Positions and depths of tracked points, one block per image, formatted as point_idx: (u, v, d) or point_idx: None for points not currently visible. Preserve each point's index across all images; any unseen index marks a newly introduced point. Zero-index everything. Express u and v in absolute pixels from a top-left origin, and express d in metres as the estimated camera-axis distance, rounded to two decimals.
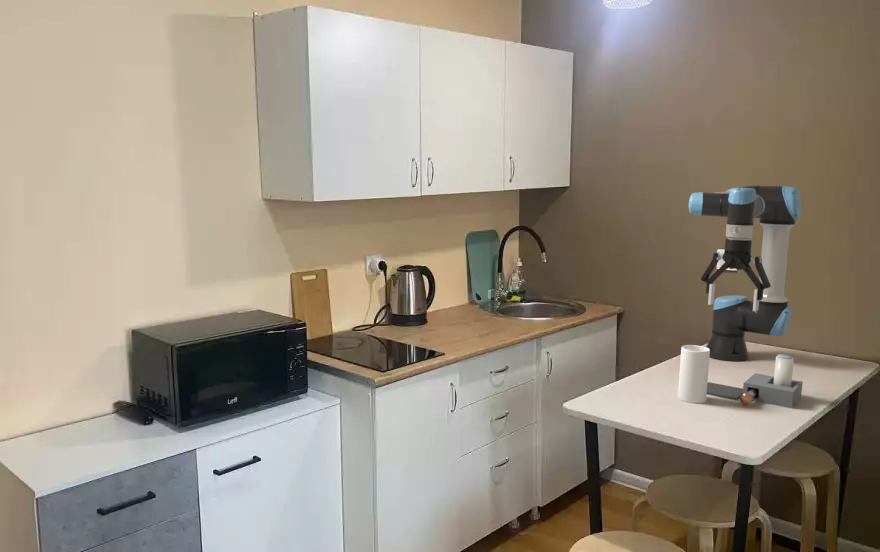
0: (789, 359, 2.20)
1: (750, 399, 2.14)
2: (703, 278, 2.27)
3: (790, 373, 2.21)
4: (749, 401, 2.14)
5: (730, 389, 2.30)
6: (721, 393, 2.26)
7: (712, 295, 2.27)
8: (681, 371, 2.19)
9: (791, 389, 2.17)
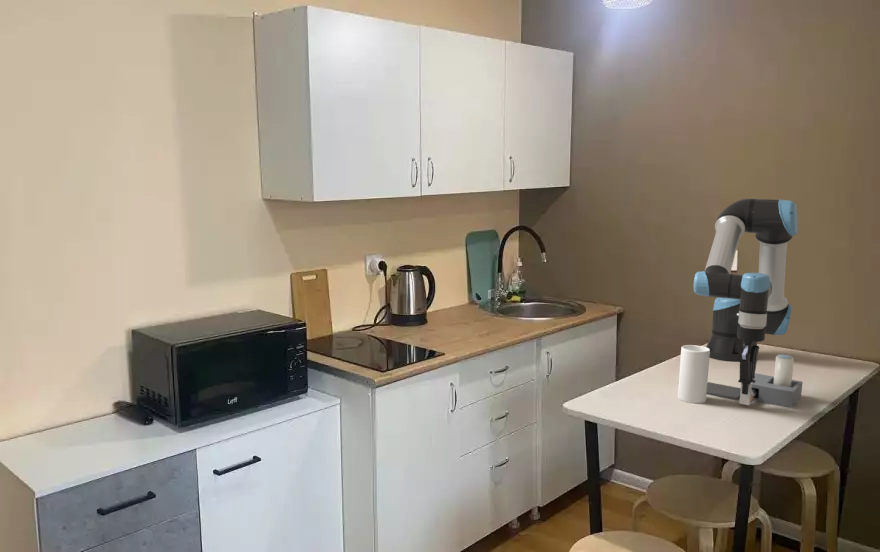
0: (789, 359, 2.20)
1: None
2: None
3: (790, 373, 2.21)
4: None
5: (730, 389, 2.30)
6: (721, 393, 2.26)
7: None
8: (681, 371, 2.19)
9: (791, 389, 2.17)
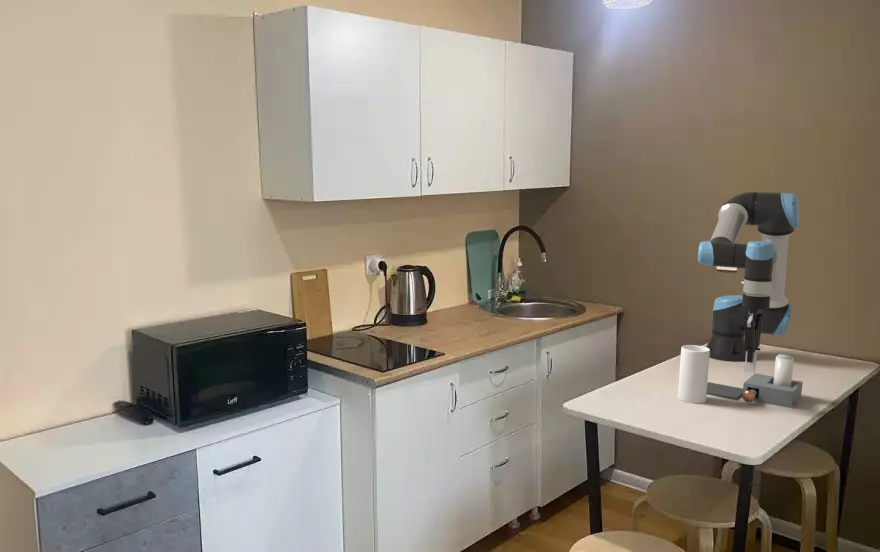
0: (789, 359, 2.20)
1: (753, 396, 2.16)
2: None
3: (790, 373, 2.21)
4: (752, 398, 2.16)
5: (730, 389, 2.30)
6: (721, 393, 2.26)
7: None
8: (681, 371, 2.19)
9: (791, 389, 2.17)
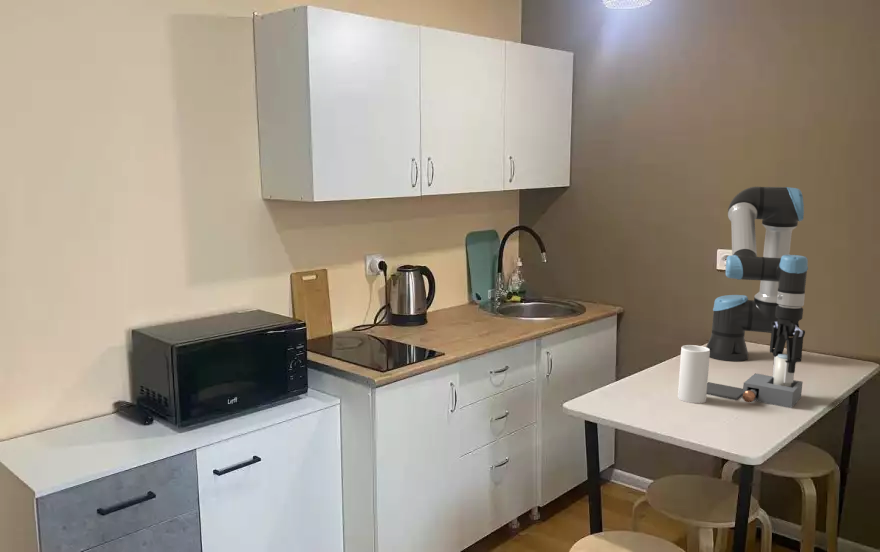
0: None
1: (753, 396, 2.16)
2: (770, 349, 2.28)
3: None
4: (752, 398, 2.16)
5: (730, 389, 2.30)
6: (721, 393, 2.26)
7: None
8: (681, 371, 2.19)
9: (791, 389, 2.17)
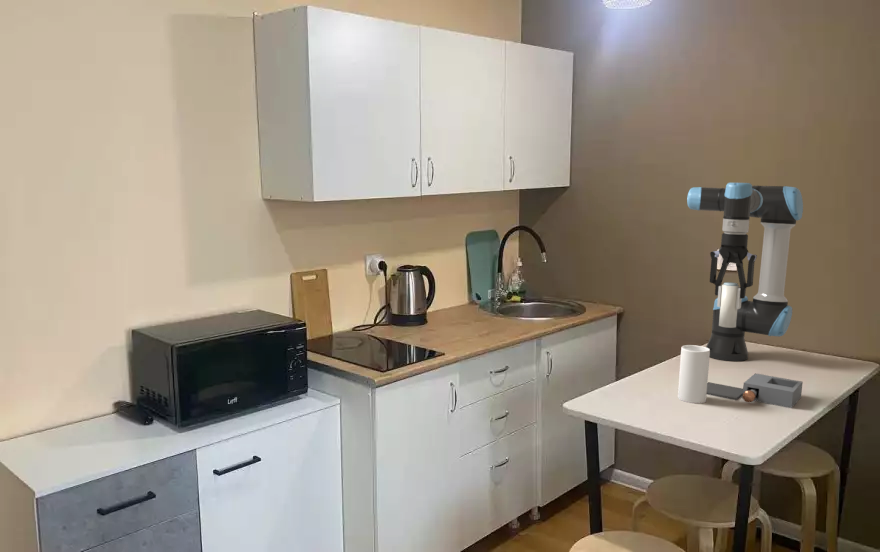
0: (738, 285, 2.23)
1: (753, 396, 2.16)
2: (711, 280, 2.27)
3: None
4: (752, 398, 2.16)
5: (730, 389, 2.30)
6: (721, 393, 2.26)
7: None
8: (681, 371, 2.19)
9: (791, 389, 2.17)
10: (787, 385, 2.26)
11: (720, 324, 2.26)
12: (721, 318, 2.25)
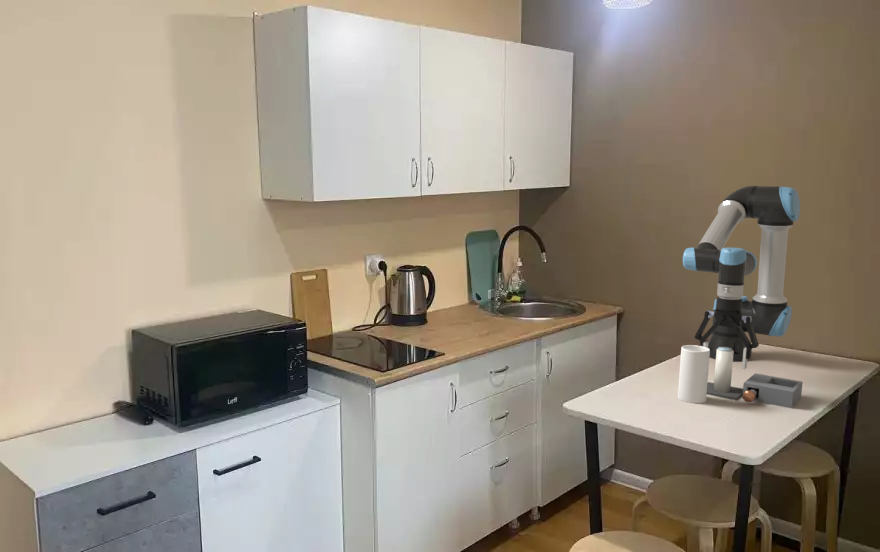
0: (732, 351, 2.26)
1: (753, 396, 2.16)
2: (697, 336, 2.31)
3: (732, 364, 2.27)
4: (752, 398, 2.16)
5: (730, 389, 2.30)
6: (721, 393, 2.26)
7: None
8: (681, 371, 2.19)
9: (791, 389, 2.17)
10: (787, 385, 2.26)
11: (715, 388, 2.29)
12: (716, 382, 2.28)
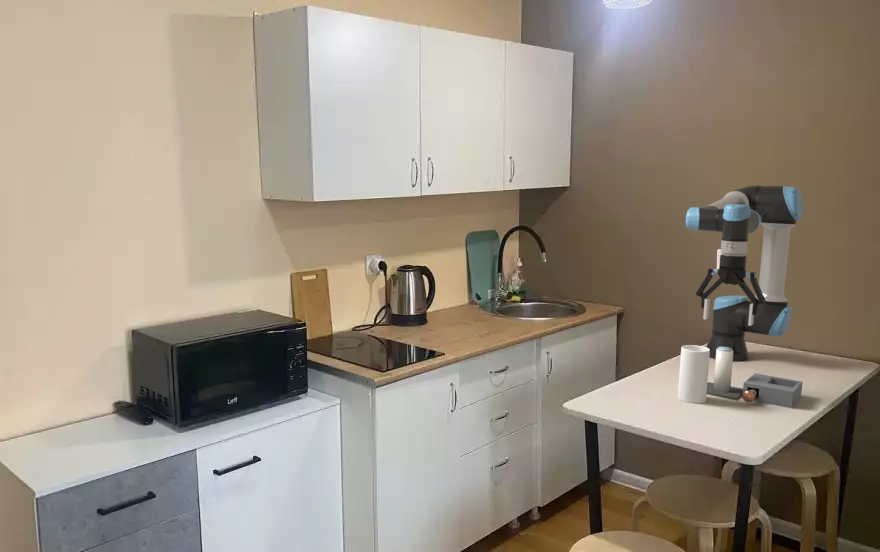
0: (732, 351, 2.26)
1: (753, 396, 2.16)
2: (698, 293, 2.30)
3: None
4: (752, 398, 2.16)
5: (730, 389, 2.30)
6: (721, 393, 2.26)
7: (707, 310, 2.30)
8: (681, 371, 2.19)
9: (791, 389, 2.17)
10: (787, 385, 2.26)
11: (715, 388, 2.29)
12: (716, 382, 2.28)
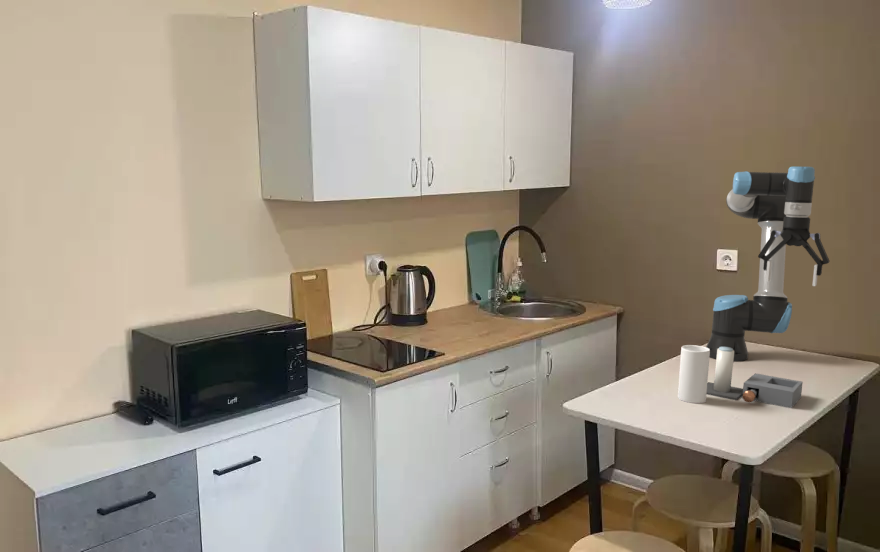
0: (733, 351, 2.26)
1: (753, 396, 2.16)
2: (760, 255, 2.32)
3: (732, 364, 2.27)
4: (752, 398, 2.16)
5: (730, 389, 2.30)
6: (721, 393, 2.26)
7: (769, 272, 2.32)
8: (681, 371, 2.19)
9: (791, 389, 2.17)
10: (787, 385, 2.26)
11: (715, 388, 2.29)
12: (716, 382, 2.28)
